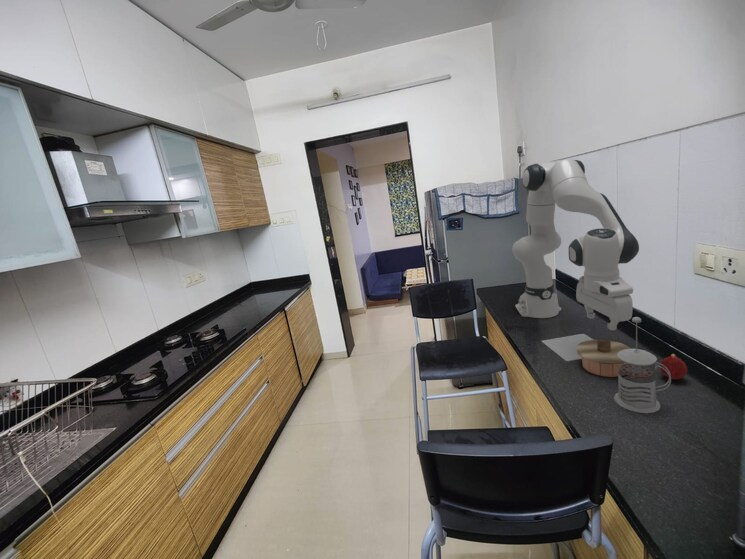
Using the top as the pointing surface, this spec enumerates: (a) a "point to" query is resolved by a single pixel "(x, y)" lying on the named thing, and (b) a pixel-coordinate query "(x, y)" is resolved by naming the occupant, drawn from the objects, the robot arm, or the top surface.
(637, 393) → the french press
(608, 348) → the lid
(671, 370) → the pomegranate
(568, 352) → the mat
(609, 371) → the bowl
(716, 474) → the top surface
